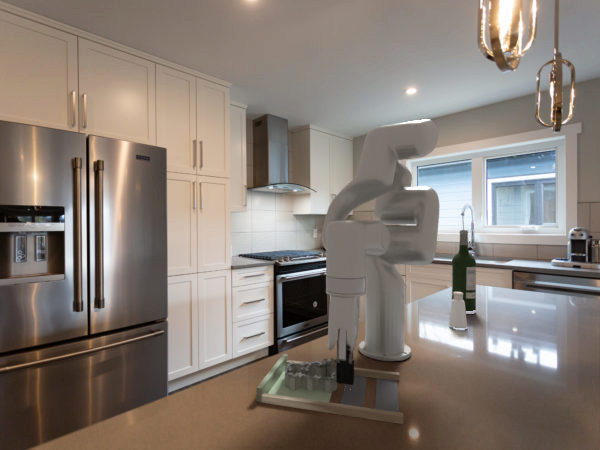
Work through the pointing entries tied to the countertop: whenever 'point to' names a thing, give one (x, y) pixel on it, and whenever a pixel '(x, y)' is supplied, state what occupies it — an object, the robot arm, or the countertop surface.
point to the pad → (298, 391)
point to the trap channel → (322, 406)
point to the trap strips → (384, 394)
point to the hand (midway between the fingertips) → (345, 381)
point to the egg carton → (321, 371)
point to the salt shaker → (458, 311)
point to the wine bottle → (464, 273)
